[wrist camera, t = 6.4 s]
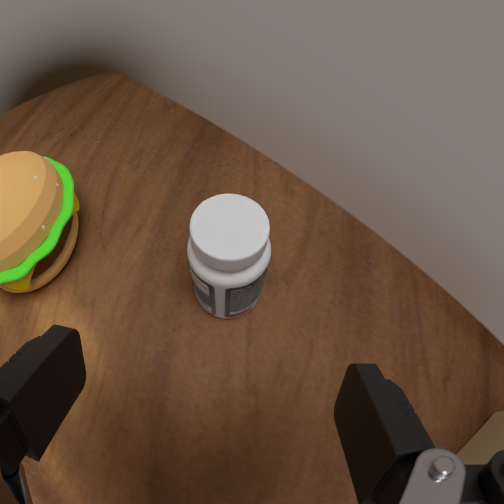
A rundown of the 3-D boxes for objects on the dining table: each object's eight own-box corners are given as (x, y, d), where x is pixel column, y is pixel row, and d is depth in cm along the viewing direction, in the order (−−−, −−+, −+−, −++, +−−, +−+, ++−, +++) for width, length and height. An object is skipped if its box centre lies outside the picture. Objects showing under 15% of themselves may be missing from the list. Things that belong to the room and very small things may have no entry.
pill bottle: (264, 266, 24) (283, 195, 17) (254, 325, 22) (272, 274, 14) (202, 254, 24) (197, 180, 17) (187, 312, 22) (171, 255, 14)
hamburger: (-31, 272, 21) (-84, 223, 13) (34, 178, 26) (2, 116, 19) (43, 334, 19) (-25, 289, 12) (117, 212, 25) (89, 136, 18)
